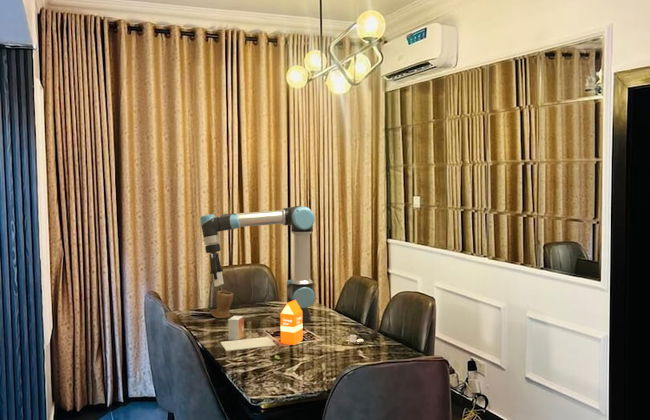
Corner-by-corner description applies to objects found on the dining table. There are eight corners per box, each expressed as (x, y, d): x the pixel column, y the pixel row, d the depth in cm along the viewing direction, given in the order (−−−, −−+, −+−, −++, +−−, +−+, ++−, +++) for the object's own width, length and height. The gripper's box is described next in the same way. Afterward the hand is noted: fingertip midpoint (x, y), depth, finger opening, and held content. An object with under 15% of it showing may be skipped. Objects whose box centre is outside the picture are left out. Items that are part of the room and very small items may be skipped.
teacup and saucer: (364, 342, 281) (364, 334, 280) (360, 346, 273) (360, 338, 273) (347, 340, 283) (347, 332, 283) (342, 345, 276) (342, 336, 276)
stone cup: (235, 318, 328) (235, 292, 328) (215, 320, 324) (214, 294, 323) (229, 312, 342) (228, 287, 341) (209, 314, 337) (208, 289, 337)
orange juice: (302, 340, 283) (302, 300, 282) (294, 344, 275) (294, 303, 274) (288, 338, 287) (288, 298, 286) (280, 343, 279) (279, 302, 278)
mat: (268, 337, 288) (268, 336, 288) (276, 345, 274) (276, 344, 274) (220, 342, 280) (220, 341, 280) (226, 351, 266) (226, 350, 266)
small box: (238, 340, 283) (238, 319, 282) (228, 340, 284) (227, 319, 283) (244, 336, 291) (244, 315, 290) (233, 335, 292) (233, 315, 291)
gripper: (208, 245, 308) (215, 285, 307) (200, 245, 283) (208, 288, 282) (222, 243, 308) (229, 282, 307) (215, 243, 283) (223, 285, 282)
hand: (219, 285), depth 294 cm, fingers open, 13 cm apart
